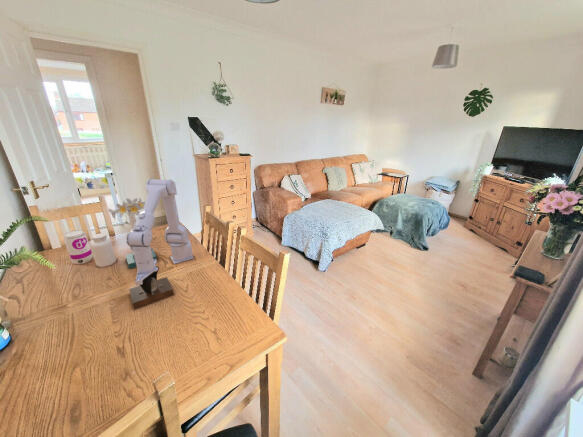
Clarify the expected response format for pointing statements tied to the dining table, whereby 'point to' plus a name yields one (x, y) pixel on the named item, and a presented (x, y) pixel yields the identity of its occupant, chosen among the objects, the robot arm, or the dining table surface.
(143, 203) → the flower vase
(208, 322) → the dining table surface
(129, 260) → the push button box
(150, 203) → the robot arm
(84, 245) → the supplement can
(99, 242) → the pill bottle
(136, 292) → the lock panel
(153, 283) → the lock dial
